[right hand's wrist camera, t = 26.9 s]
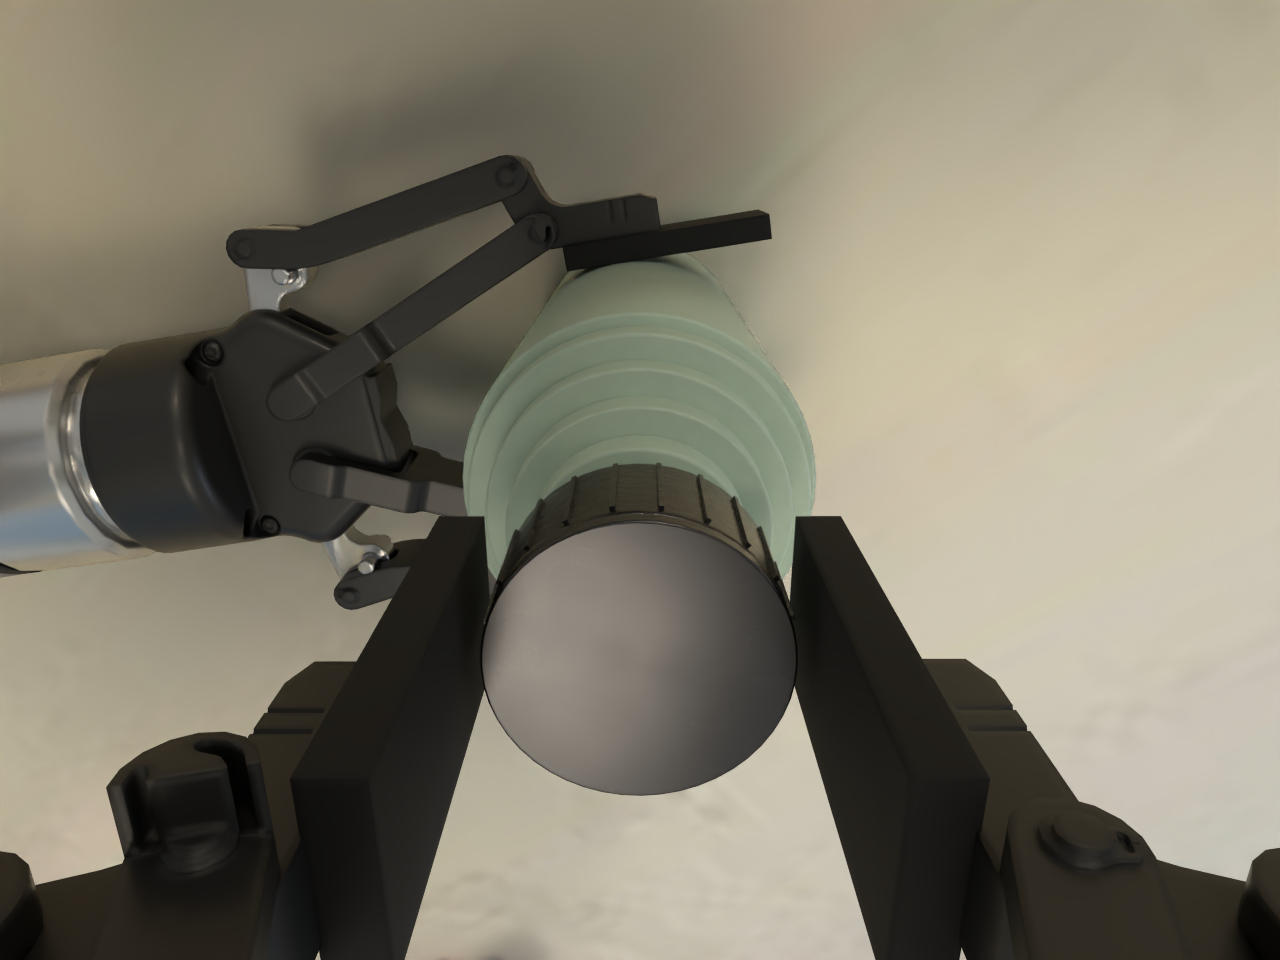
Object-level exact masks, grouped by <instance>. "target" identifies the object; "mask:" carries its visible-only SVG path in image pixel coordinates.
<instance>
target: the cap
mask: <svg viewBox="0 0 1280 960" xmlns="http://www.w3.org/2000/svg"><path fill="white" fill-rule="evenodd" d="M792 620H795V617H794V613H793V610H792V607H791V604H790V601H789V599H788V596H787V593H786V590H785V587H784V584H783V581H782V578H781V575H780V572H779V569H778V566H777V563H776V561H775V562H774V560H773V557H772V554H771V551H770V548H769V545H768V542H767V539H766V536H765V533H764V530H763V528H762V526H759V527H758V526H757V525H756V523H755V522H754V520H753V519H752V518H751V516H750V515H749V513H748V512H747V511H746V510H745V509H744V508H743V507H742V506H741V505H740V504H739V500H738V498H737V497H736V496H733V497H732V496H730V495H729V494H728V493H727V492H725V491H724V490H723V489H721V488H720V487H718V486H716V485H715V484H713V483H711V482H710V481H708V480H706V479H704V478H703V475H701V474H698V476H697V475H695V474H693V473H690V472H687V471H683V470H680V469H677V468H673V467H668V466H662V464H661V463H656V464H624V465H618V463H615V464H613V466H611V467H606V468H601V469H598V470H595V471H592V472H588V473H586V474H583V475H581V476H579V477H577V476H576V475H575V476H573V477H572V478H571V481H568V482H566V483H565V484H563V485H562V486H560V487H559V488H557V489H556V490H554V491H553V492H551V493H550V494H549V495H548V496H547V497H546V498H545V499H541V498H540V499H539V500H538V501H537V504H536V507H535V508H534V509H533V511H532V512H531V513H530V514H529V515H528V516H527V518H526V519H525V521H524V522H523V524H522V525H521V527H520V529H519V530H517V529H515V530H514V532H513V535H512V538H511V541H510V544H509V547H508V550H507V552H506V555H505V558H504V561H503V564H502V566H501V569H500V572H499V575H498V578H497V581H496V583H495V586H494V589H493V592H492V595H491V598H490V601H489V604H488V607H487V610H486V613H485V615H484V618H483V624H485V626H484V630H483V634H482V641H481V648H480V666H481V674H482V680H483V686H484V689H485V692H486V695H487V698H488V701H489V704H490V706H491V708H492V710H493V712H494V714H495V716H496V718H497V720H498V722H499V723H500V725H501V726H502V728H503V729H504V731H505V732H506V734H507V735H508V736H509V737H510V738H511V740H512V741H513V742H514V743H515V744H516V745H517V746H518V747H519V749H521V750H522V751H523V752H524V753H525V754H526V755H527V756H529V757H530V758H531V759H532V760H533V761H535V762H536V763H537V764H539V765H540V766H542V767H543V768H545V769H546V770H548V771H549V772H551V773H553V774H555V775H557V776H559V777H561V778H563V779H565V780H567V781H569V782H572V783H575V784H577V785H580V786H582V787H586V788H589V789H593V790H597V791H601V792H606V793H613V794H620V795H638V796H643V795H659V794H666V793H671V792H677V791H682V790H685V789H689V788H692V787H696V786H699V785H701V784H704V783H706V782H709V781H711V780H713V779H716V778H718V777H720V776H721V775H723V774H725V773H727V772H729V771H730V770H732V769H734V768H735V767H736V766H738V765H739V764H741V763H742V762H743V761H745V760H746V759H748V758H749V757H750V756H751V755H752V754H753V753H754V752H755V751H756V750H757V749H758V748H760V747H761V746H762V744H763V743H764V742H765V741H766V740H767V739H768V737H769V736H770V735H771V734H772V733H773V731H774V730H775V728H776V726H777V725H778V723H779V722H780V720H781V719H782V717H783V715H784V713H785V711H786V708H787V706H788V704H789V702H790V699H791V696H792V693H793V689H794V686H795V682H796V675H797V667H798V646H797V640H796V634H795V628H794V625H793V622H792Z"/></svg>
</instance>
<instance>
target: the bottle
mask: <svg viewBox="0 0 1280 960" xmlns="http://www.w3.org/2000/svg"><path fill="white" fill-rule="evenodd" d="M615 463H618V465H624V464H656V463H661V464H662V466H668V467H673V468H677V469H680V470H683V471H687V472H690V473H693V474H695V475H697V476H698V474H701V475H703V478H704V479H706V480H708V481H710V482H711V483H713V484H715V485H716V486H718V487H720V488H721V489H723V490H724V491H725V492H727V493H728V494H729V495H730V496H732V497H733V496H736V497H737V498H738V500H739V504H740V505H741V506H742V507H743V508H744V509H745V510H746V511H747V512H748V513H749V515H750V516H751V518H752V519H753V520H754V522H755V523H756V525H757V526H758V527H759V526H762V528H763V530H764V533H765V536H766V539H767V542H768V545H769V548H770V551H771V554H772V557H773V560H774V562H775V561H776V563H777V566H778V569H779V572H780V575H781V578H782V580H783V578H784V577H785V575H786V574H787V573H788V571H789V569H790V567H791V565H792V563H793V548H794V533H795V518H796V516H811V513H812V508H813V504H814V498H815V485H816V470H815V456H814V451H813V446H812V441H811V436H810V433H809V430H808V427H807V425H806V422H805V419H804V416H803V414H802V412H801V410H800V408H799V406H798V404H797V402H796V400H795V398H794V397H793V395H792V393H791V391H790V390H789V388H788V387H787V385H786V384H785V382H784V381H783V379H782V378H781V376H780V375H779V373H778V372H777V370H776V369H775V367H774V366H773V364H772V363H771V361H770V360H769V358H768V357H767V355H766V354H765V352H764V351H763V349H762V348H761V346H760V345H759V343H758V342H757V340H756V338H755V337H754V335H753V334H752V332H751V331H750V329H749V328H748V326H747V325H746V323H745V322H744V320H743V319H742V317H741V316H740V314H739V313H738V311H737V310H736V308H735V307H734V305H733V304H732V302H731V301H730V299H729V298H728V296H727V295H726V293H725V292H724V290H723V289H722V287H721V286H720V284H719V283H718V281H717V280H716V279H715V277H714V276H713V275H712V274H711V273H710V272H709V271H708V270H707V268H706V267H705V266H703V265H702V264H701V263H700V262H698V261H697V260H696V259H695V258H693V257H691V256H690V255H688V254H686V253H680V254H674V255H668V256H662V257H656V258H649V259H643V260H637V261H631V262H624V263H618V264H612V265H606V266H600V267H593V268H587V269H581V270H575V271H570V272H569V273H568V274H567V275H566V276H565V277H564V279H563V280H562V281H561V283H560V284H559V286H558V287H557V289H556V290H555V292H554V293H553V295H552V296H551V298H550V299H549V301H548V302H547V304H546V305H545V307H544V308H543V310H542V311H541V313H540V314H539V316H538V317H537V319H536V320H535V322H534V323H533V325H532V326H531V328H530V329H529V331H528V332H527V334H526V335H525V337H524V338H523V340H522V341H521V343H520V344H519V346H518V347H517V349H516V350H515V352H514V353H513V355H512V356H511V358H510V359H509V361H508V362H507V364H506V365H505V367H504V368H503V370H502V371H501V373H500V374H499V376H498V377H497V379H496V380H495V382H494V383H493V385H492V386H491V388H490V389H489V391H488V392H487V394H486V396H485V398H484V400H483V402H482V403H481V405H480V407H479V409H478V411H477V413H476V415H475V418H474V421H473V424H472V426H471V429H470V432H469V435H468V440H467V444H466V449H465V454H464V465H463V489H464V500H465V505H466V510H467V514H468V516H484V518H485V533H486V548H487V563H488V568H489V570H490V572H491V573H492V574H493V576H494V577H495V579H496V580H497V578H498V575H499V572H500V569H501V566H502V564H503V561H504V558H505V555H506V552H507V550H508V547H509V544H510V541H511V538H512V535H513V532H514V530H515V529H517V530H519V529H520V527H521V525H522V524H523V522H524V521H525V519H526V518H527V516H528V515H529V514H530V513H531V512H532V511H533V509H534V508H535V507H536V504H537V501H538V500H539V499H540V498H541V499H545V498H546V497H547V496H548V495H549V494H550V493H551V492H553V491H554V490H556V489H557V488H559V487H560V486H562V485H563V484H565V483H566V482H568V481H571V478H572V477H573V476H575V475H576V476H577V477H579V476H581V475H583V474H586V473H588V472H592V471H595V470H598V469H601V468H606V467H611V466H613V464H615Z"/></svg>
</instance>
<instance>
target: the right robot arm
mask: <svg viewBox="0 0 1280 960" xmlns="http://www.w3.org/2000/svg"><path fill="white" fill-rule="evenodd" d="M489 601H490V592H489V577H488V563H487V548H486V533H485V518H484V516H439V517H438V519H437V521H436V523H435V525H434V526H433V528H432V530H431V532H430V533H429V535H428V537H427V539H426V540H425V542H424V544H423V546H422V547H421V549H420V551H419V553H418V554H417V556H416V558H415V560H414V561H413V563H412V565H411V567H410V568H409V570H408V572H407V574H406V575H405V577H404V579H403V581H402V583H401V584H400V586H399V588H398V590H397V591H396V593H395V595H394V597H393V598H392V600H391V602H390V604H389V605H388V607H387V609H386V611H385V612H384V614H383V616H382V618H381V619H380V621H379V623H378V625H377V626H376V628H375V630H374V632H373V633H372V635H371V637H370V639H369V641H368V642H367V644H366V646H365V648H364V649H363V651H362V653H361V655H360V656H359V658H358V660H357V662H313V663H312V664H311V665H309V666H308V667H307V668H305V669H304V670H302V671H301V672H300V673H298V674H297V675H295V676H294V677H293V678H291V679H290V680H288V681H287V682H286V683H285V684H284V685H283V687H282V688H281V690H280V691H279V692H278V694H277V695H276V697H275V698H274V700H273V701H272V703H271V704H270V706H269V707H268V712H267V713H264V714H263V716H262V717H261V719H260V720H259V722H258V723H257V725H256V726H255V728H254V733H253V734H250V735H249V736H248V738H246V737H244V736H240V735H236V734H232V733H228V732H208V733H196V734H192V735H188V736H184V737H180V738H176V739H172V740H169V741H167V742H165V743H163V744H160V745H158V746H156V747H154V748H152V749H149V750H147V751H145V752H143V753H141V754H140V755H139V756H137V757H136V758H134V759H133V760H132V761H130V762H129V763H128V764H126V765H125V766H124V767H122V768H121V769H120V770H119V771H118V772H117V774H116V775H115V776H114V778H113V779H112V780H111V782H110V783H109V784H108V786H107V787H106V789H107V793H108V797H109V800H110V804H111V808H112V812H113V816H114V819H115V823H116V827H117V831H118V835H119V838H120V842H121V846H122V850H123V854H124V857H125V858H124V861H123V863H122V864H119V865H116V866H113V867H109V868H106V869H103V870H99V871H95V872H90V873H86V874H82V875H77V876H73V877H69V878H64V879H60V880H56V881H51V882H47V883H43V884H38V885H35V884H34V880H33V877H32V874H31V871H30V868H29V865H28V864H27V863H26V862H25V861H24V860H22V859H21V858H20V857H19V856H18V855H17V854H15V853H8V852H1V851H0V960H315V959H316V956H317V954H318V951H319V953H320V958H321V960H404V959H405V956H406V953H407V949H408V946H409V943H410V939H411V936H412V932H413V929H414V926H415V922H416V919H417V916H418V912H419V909H420V905H421V902H422V899H423V895H424V892H425V888H426V885H427V882H428V878H429V875H430V872H431V868H432V865H433V861H434V858H435V855H436V851H437V848H438V845H439V841H440V838H441V834H442V831H443V828H444V824H445V821H446V817H447V814H448V811H449V807H450V804H451V801H452V797H453V794H454V790H455V787H456V784H457V780H458V777H459V774H460V770H461V767H462V763H463V760H464V757H465V753H466V750H467V746H468V743H469V740H470V736H471V733H472V730H473V726H474V723H475V719H476V716H477V713H478V709H479V706H480V703H481V699H482V696H483V692H484V686H483V680H482V674H481V666H480V648H481V641H482V634H483V630H484V626H485V624H483V618H484V615H485V613H486V610H487V607H488V604H489ZM790 604H791V607H792V610H793V613H794V617H795V620H792V622H793V625H794V628H795V634H796V640H797V646H798V667H797V675H796V682H795V689H796V692H797V696H798V699H799V703H800V706H801V709H802V713H803V716H804V719H805V723H806V726H807V730H808V733H809V736H810V740H811V743H812V747H813V750H814V753H815V757H816V760H817V763H818V767H819V770H820V774H821V777H822V780H823V784H824V787H825V790H826V794H827V797H828V801H829V804H830V807H831V811H832V814H833V818H834V821H835V824H836V828H837V831H838V834H839V838H840V841H841V845H842V848H843V851H844V855H845V858H846V861H847V865H848V868H849V872H850V875H851V878H852V882H853V885H854V888H855V892H856V895H857V899H858V902H859V905H860V909H861V912H862V916H863V919H864V922H865V926H866V929H867V932H868V936H869V939H870V943H871V946H872V949H873V953H874V956H875V959H876V960H959V958H960V953H961V947H962V949H963V952H964V954H965V957H966V959H967V960H1280V848H1276V849H1269V850H1265V851H1264V852H1263V853H1261V854H1260V855H1259V856H1258V857H1257V858H1255V859H1254V860H1253V861H1252V864H1251V868H1250V871H1249V874H1248V877H1247V880H1246V882H1245V881H1240V880H1236V879H1231V878H1227V877H1223V876H1218V875H1214V874H1210V873H1205V872H1201V871H1197V870H1192V869H1188V868H1184V867H1180V866H1176V865H1173V864H1170V863H1166V862H1163V861H1160V860H1157V859H1156V857H1155V855H1154V854H1153V852H1152V851H1151V849H1150V848H1149V846H1148V845H1147V843H1146V842H1145V840H1144V839H1143V837H1142V836H1141V835H1139V834H1138V833H1137V832H1136V831H1135V830H1133V829H1132V828H1131V827H1130V826H1129V825H1127V824H1126V823H1125V822H1124V821H1123V820H1121V819H1119V818H1117V817H1115V816H1114V815H1112V814H1110V813H1108V812H1106V811H1104V810H1102V809H1100V808H1098V807H1096V806H1093V805H1090V804H1086V803H1083V802H1079V801H1078V800H1077V798H1076V797H1075V795H1074V794H1073V792H1072V791H1071V789H1070V788H1069V787H1068V785H1067V784H1066V782H1065V781H1064V779H1063V778H1062V776H1061V775H1060V773H1059V772H1058V771H1057V769H1056V768H1055V766H1054V765H1053V763H1052V762H1051V760H1050V759H1049V757H1048V756H1047V755H1046V753H1045V752H1044V750H1043V749H1042V747H1041V746H1040V744H1039V743H1038V741H1037V740H1036V739H1035V737H1034V736H1033V734H1032V733H1031V731H1027V725H1026V724H1025V723H1024V721H1023V720H1022V718H1021V717H1020V715H1019V714H1018V712H1017V711H1016V710H1013V705H1012V704H1011V702H1010V701H1009V699H1008V698H1007V696H1006V695H1005V693H1004V692H1003V691H1002V689H1001V688H1000V686H999V685H998V683H997V682H996V680H994V679H993V678H992V677H990V676H989V675H987V674H986V673H985V672H983V671H982V670H980V669H979V668H978V667H976V666H975V665H973V664H972V663H971V662H969V661H968V660H966V659H922V658H921V656H920V655H919V653H918V651H917V649H916V648H915V646H914V644H913V642H912V641H911V639H910V637H909V635H908V633H907V632H906V630H905V628H904V626H903V625H902V623H901V621H900V619H899V618H898V616H897V614H896V612H895V611H894V609H893V607H892V605H891V604H890V602H889V600H888V598H887V597H886V595H885V593H884V591H883V590H882V588H881V586H880V584H879V583H878V581H877V579H876V577H875V575H874V574H873V572H872V570H871V568H870V567H869V565H868V563H867V561H866V560H865V558H864V556H863V554H862V553H861V551H860V549H859V547H858V546H857V544H856V542H855V540H854V539H853V537H852V535H851V533H850V532H849V530H848V528H847V526H846V525H845V523H844V521H843V519H842V518H841V516H796V518H795V533H794V548H793V563H792V577H791V592H790Z"/></svg>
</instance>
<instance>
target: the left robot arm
mask: <svg viewBox="0 0 1280 960" xmlns="http://www.w3.org/2000/svg"><path fill="white" fill-rule="evenodd" d="M500 201H502V203H503V204H504V206H505V208H506V209H507V211H508V213H509V215H510V216H511V218H512V220H513V222H514V223H515V225H513V226H512V227H510V228H509V229H507V230H506V231H504V232H503V233H501V234H500V235H498V236H497V237H496V238H494V239H493V240H491V241H490V242H488V243H487V244H485V245H484V246H482V247H481V248H479V249H478V250H476V251H475V252H474V253H472V254H471V255H469V256H468V257H466V258H465V259H463V260H462V261H460V262H459V263H457V264H456V265H454V266H453V267H452V268H450V269H449V270H447V271H446V272H444V273H443V274H441V275H440V276H438V277H437V278H435V279H434V280H432V281H431V282H430V283H428V284H427V285H425V286H424V287H422V288H421V289H419V290H418V291H416V292H415V293H413V294H412V295H410V296H409V297H408V298H406V299H405V300H403V301H402V302H400V303H399V304H397V305H396V306H394V307H393V308H391V309H390V310H388V311H387V312H386V313H384V314H383V315H381V316H380V317H378V318H377V319H375V320H374V321H372V322H371V323H369V324H368V325H366V326H365V327H363V328H362V329H360V330H359V331H357V332H356V333H354V334H353V335H351V336H348V335H346V334H344V333H342V332H340V331H338V330H336V329H334V328H332V327H330V326H327V325H325V324H323V323H321V322H319V321H317V320H315V319H313V318H311V317H309V316H307V315H305V314H302V313H300V312H298V311H296V310H294V309H292V308H290V307H289V301H290V298H291V295H292V294H293V293H294V292H295V291H297V290H300V289H303V288H306V287H308V286H310V285H311V284H313V282H314V281H315V279H316V276H317V266H318V265H321V264H325V263H328V262H331V261H334V260H338V259H341V258H344V257H347V256H350V255H353V254H356V253H359V252H361V251H364V250H367V249H370V248H372V247H375V246H378V245H381V244H384V243H386V242H389V241H392V240H395V239H397V238H400V237H403V236H406V235H408V234H411V233H414V232H417V231H420V230H422V229H425V228H428V227H431V226H433V225H436V224H439V223H442V222H445V221H447V220H450V219H453V218H456V217H458V216H461V215H464V214H467V213H469V212H472V211H475V210H478V209H481V208H483V207H486V206H489V205H492V204H494V203H497V202H500ZM768 239H772V236H771V226H770V216H769V214H768V213H765V212H763V211H760V210H753V211H747V212H740V213H734V214H728V215H722V216H716V217H710V218H704V219H697V220H691V221H685V222H679V223H673V224H667V225H661V226H660V220H659V213H658V206H657V199H656V197H653V196H649V195H645V194H641V193H639V194H633V195H627V196H621V197H615V198H608V199H602V200H596V201H590V202H584V203H578V204H572V205H563V204H559V203H557V202H555V201H553V200H552V199H551V198H550V197H549V196H548V195H547V194H546V192H545V190H544V189H543V187H542V185H541V183H540V181H539V180H538V178H537V176H536V174H535V172H534V168H533V166H532V165H531V163H530V162H529V161H528V160H527V159H525V158H524V157H520V156H513V155H504V156H498V157H496V158H493V159H490V160H488V161H485V162H482V163H479V164H477V165H474V166H471V167H468V168H466V169H463V170H460V171H458V172H455V173H452V174H449V175H447V176H444V177H441V178H438V179H436V180H433V181H430V182H428V183H425V184H422V185H419V186H417V187H414V188H411V189H409V190H406V191H403V192H400V193H398V194H395V195H392V196H389V197H387V198H384V199H381V200H379V201H376V202H373V203H370V204H368V205H365V206H362V207H359V208H357V209H354V210H351V211H349V212H346V213H343V214H340V215H338V216H335V217H332V218H330V219H327V220H324V221H321V222H319V223H316V224H313V225H278V224H272V225H266V226H260V227H254V228H247V229H242V230H237V231H234V232H233V233H232V234H230V235H229V237H228V239H227V241H226V250H227V253H228V256H229V258H230V259H231V260H232V261H233V263H235V264H236V265H238V266H239V267H242V268H244V272H245V280H246V287H247V295H248V302H249V310H250V312H247V313H246V314H244V315H243V316H241V317H240V318H239V319H238V320H237V321H236V322H235V323H234V324H232V325H231V326H229V327H226V328H222V329H215V330H209V331H203V332H197V333H190V334H184V335H178V336H172V337H165V338H159V339H153V340H147V341H140V342H134V343H128V344H124V345H120V346H118V347H116V348H113V349H112V350H111V351H110V350H103V349H90V350H84V351H78V352H72V353H66V354H60V355H54V356H48V357H42V358H36V359H30V360H24V361H18V362H12V363H6V364H0V577H6V576H12V575H19V574H26V573H34V572H41V571H45V570H53V569H60V568H68V567H75V566H83V565H90V564H98V563H105V562H113V561H120V560H128V559H135V558H140V557H145V556H149V555H151V554H153V553H154V552H162V553H173V552H180V551H187V550H194V549H201V548H208V547H214V546H221V545H228V544H235V543H242V542H249V541H255V540H260V539H265V538H269V537H274V536H281V535H287V536H294V537H299V538H302V539H305V540H308V541H311V542H318V543H322V545H323V547H324V549H325V551H326V553H327V554H328V556H329V558H330V560H331V562H332V564H333V566H334V568H335V570H336V572H337V574H338V576H339V578H340V582H339V583H338V585H337V586H336V587H335V589H334V597H335V600H336V602H337V603H338V604H339V605H340V606H342V607H343V608H345V609H350V610H354V609H359V608H362V607H365V606H369V605H372V604H375V603H378V602H381V601H384V600H387V599H391V598H393V597H394V595H395V593H396V591H397V590H398V588H399V586H400V584H401V583H402V581H403V579H404V577H405V575H406V574H407V572H408V570H409V568H410V567H411V565H412V563H413V561H414V560H415V558H416V556H417V554H418V553H419V551H420V549H421V547H422V546H423V544H424V542H425V540H426V539H413V540H406V541H400V542H397V543H392V541H391V539H390V537H389V536H387V535H383V534H382V535H366V534H363V533H361V532H359V531H358V530H357V529H356V528H355V527H354V525H353V524H354V523H355V522H356V521H357V519H358V518H359V517H360V516H361V515H362V514H363V513H364V512H365V511H366V510H367V509H368V508H369V507H370V506H371V505H373V506H377V507H381V508H386V509H390V510H394V511H398V512H403V513H415V512H419V511H424V512H429V513H434V514H438V515H442V516H468V514H467V510H466V505H465V500H464V489H463V465H464V463H463V462H459V461H455V460H451V459H447V458H444V457H442V456H441V455H440V454H439V453H438V452H436V451H433V450H430V449H426V448H422V447H418V446H414V445H413V443H412V439H411V435H410V432H409V428H408V425H407V423H406V421H405V419H404V417H403V416H402V414H401V412H400V410H399V408H398V407H397V381H396V378H395V374H394V370H393V366H392V363H389V364H386V362H385V361H384V360H385V359H387V358H388V357H389V356H391V355H392V354H394V353H395V352H397V351H398V350H400V349H401V348H403V347H404V346H405V345H407V344H408V343H410V342H411V341H413V340H414V339H416V338H417V337H419V336H420V335H422V334H423V333H425V332H426V331H428V330H429V329H431V328H432V327H434V326H435V325H437V324H438V323H440V322H441V321H443V320H444V319H446V318H447V317H449V316H450V315H452V314H453V313H455V312H456V311H458V310H459V309H461V308H462V307H464V306H465V305H467V304H468V303H470V302H471V301H473V300H474V299H476V298H477V297H479V296H480V295H482V294H483V293H485V292H486V291H488V290H489V289H491V288H492V287H494V286H495V285H497V284H498V283H500V282H501V281H503V280H504V279H506V278H507V277H509V276H510V275H512V274H513V273H515V272H516V271H518V270H519V269H521V268H522V267H524V266H525V265H527V264H528V263H530V262H531V261H533V260H534V259H536V258H537V257H538V256H540V255H541V254H543V253H544V252H546V251H548V250H549V249H555V248H562V247H563V252H564V257H565V263H566V268H567V272H568V271H575V270H581V269H587V268H593V267H600V266H606V265H612V264H618V263H624V262H631V261H637V260H643V259H649V258H656V257H662V256H668V255H674V254H680V253H687V252H693V251H699V250H705V249H712V248H718V247H724V246H730V245H737V244H743V243H749V242H755V241H761V240H768ZM488 577H489V592H490V597H491V595H492V592H493V589H494V586H495V583H496V581H497V580H496V579H495V577H494V576H493V574H492V573H491V572H490V570H489V568H488Z"/></svg>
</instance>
